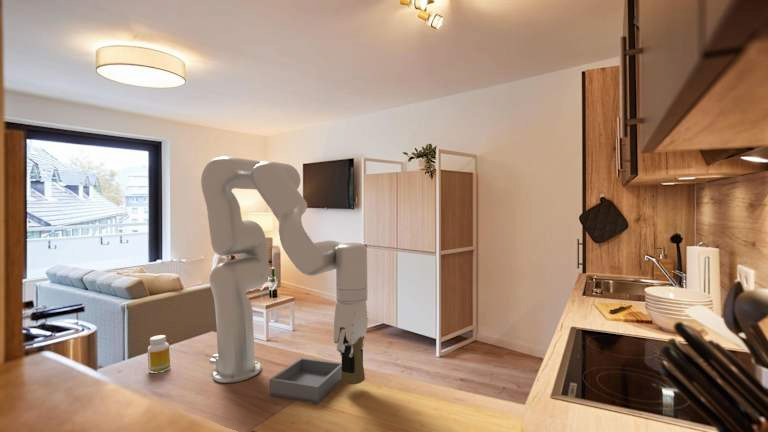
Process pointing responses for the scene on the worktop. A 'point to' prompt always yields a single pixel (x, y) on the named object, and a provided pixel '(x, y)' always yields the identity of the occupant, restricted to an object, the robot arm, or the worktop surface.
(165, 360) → the supplement bottle
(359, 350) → the cork
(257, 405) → the worktop surface
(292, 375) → the box
